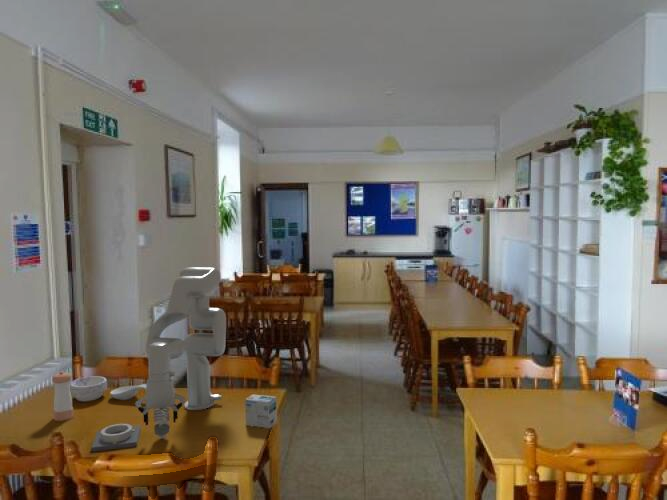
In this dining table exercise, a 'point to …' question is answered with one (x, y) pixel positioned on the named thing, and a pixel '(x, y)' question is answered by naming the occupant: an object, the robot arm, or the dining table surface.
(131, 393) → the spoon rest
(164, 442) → the dining table surface
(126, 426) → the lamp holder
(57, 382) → the salt shaker
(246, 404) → the light bulb box
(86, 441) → the dining table surface
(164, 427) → the light bulb
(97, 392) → the marbled white bowl
